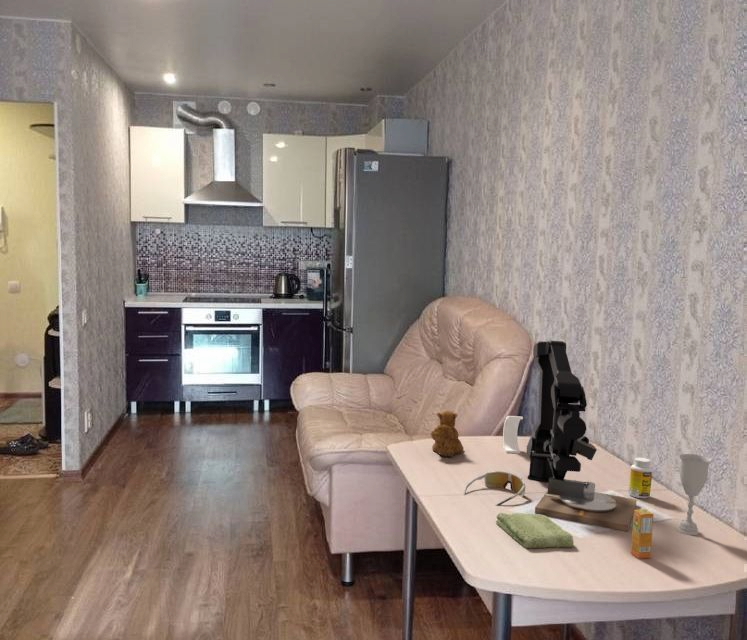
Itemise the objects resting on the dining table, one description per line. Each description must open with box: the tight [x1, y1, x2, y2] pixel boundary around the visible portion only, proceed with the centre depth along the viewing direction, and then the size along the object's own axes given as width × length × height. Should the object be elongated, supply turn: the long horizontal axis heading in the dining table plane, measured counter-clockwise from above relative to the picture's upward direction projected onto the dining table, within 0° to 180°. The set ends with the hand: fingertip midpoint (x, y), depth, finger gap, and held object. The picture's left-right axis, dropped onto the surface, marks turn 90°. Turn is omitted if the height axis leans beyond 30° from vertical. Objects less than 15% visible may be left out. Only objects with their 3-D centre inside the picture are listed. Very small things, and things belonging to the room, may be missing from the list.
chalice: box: [676, 453, 712, 536], centre depth 179 cm, size 7×7×18 cm
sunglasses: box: [463, 470, 526, 506], centre depth 199 cm, size 14×15×5 cm
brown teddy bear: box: [430, 410, 464, 458], centre depth 236 cm, size 10×14×13 cm
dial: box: [547, 477, 616, 512], centre depth 192 cm, size 17×14×5 cm
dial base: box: [534, 490, 637, 532], centre depth 192 cm, size 22×22×2 cm
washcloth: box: [495, 512, 574, 549], centre depth 172 cm, size 13×18×3 cm
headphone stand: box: [502, 415, 524, 454], centre depth 245 cm, size 5×6×12 cm
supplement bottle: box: [628, 457, 654, 500], centre depth 205 cm, size 6×6×10 cm
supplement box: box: [630, 508, 654, 560], centre depth 162 cm, size 3×3×10 cm
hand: (558, 486), depth 196 cm, fingers closed
